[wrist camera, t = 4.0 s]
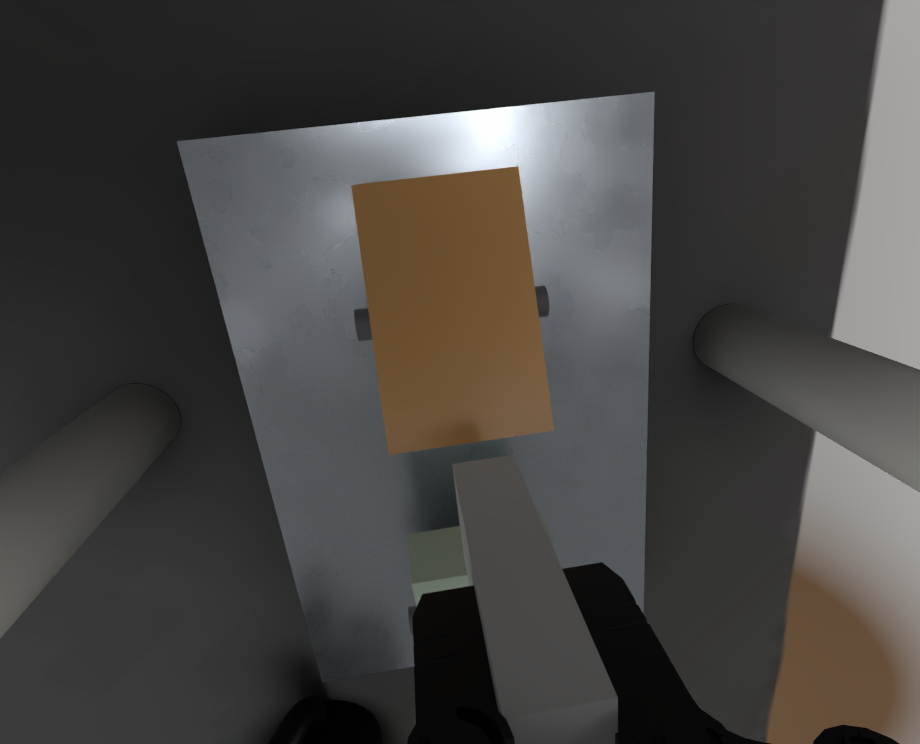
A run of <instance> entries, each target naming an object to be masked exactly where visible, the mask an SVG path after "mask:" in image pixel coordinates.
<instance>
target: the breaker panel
mask: <svg viewBox="0 0 920 744" xmlns="http://www.w3.org/2000/svg"><path fill="white" fill-rule="evenodd" d="M654 93H655V92H647V93H638V94H628V95H619V96H609V97H599V98H590V99H580V100H570V101H561V102H551V103H542V104H532V105H522V106H513V107H503V108H493V109H484V110H474V111H465V112H455V113H445V114H436V115H426V116H416V117H407V118H397V119H387V120H378V121H368V122H359V123H349V124H339V125H330V126H320V127H310V128H301V129H291V130H282V131H272V132H262V133H253V134H243V135H233V136H224V137H214V138H204V139H195V140H185V141H177V144H178V148H179V152H180V156H181V159H182V163H183V167H184V170H185V174H186V178H187V182H188V185H189V189H190V193H191V197H192V200H193V204H194V208H195V211H196V215H197V219H198V223H199V226H200V230H201V234H202V238H203V241H204V245H205V249H206V252H207V256H208V260H209V264H210V267H211V271H212V275H213V278H214V282H215V286H216V290H217V293H218V297H219V301H220V305H221V308H222V312H223V316H224V319H225V323H226V327H227V331H228V334H229V338H230V342H231V346H232V349H233V353H234V357H235V360H236V364H237V368H238V372H239V375H240V379H241V383H242V386H243V390H244V394H245V398H246V401H247V405H248V409H249V413H250V416H251V420H252V424H253V427H254V431H255V435H256V439H257V442H258V446H259V450H260V454H261V457H262V461H263V465H264V468H265V472H266V476H267V480H268V483H269V487H270V491H271V494H272V498H273V502H274V506H275V509H276V513H277V517H278V521H279V524H280V528H281V532H282V535H283V539H284V543H285V547H286V550H287V554H288V558H289V562H290V565H291V569H292V573H293V576H294V580H295V584H296V588H297V591H298V595H299V599H300V602H301V606H302V610H303V614H304V617H305V621H306V625H307V629H308V632H309V636H310V640H311V643H312V647H313V651H314V655H315V658H316V662H317V666H318V670H319V673H320V677H321V681H322V682H328V681H334V680H339V679H345V678H351V677H356V676H362V675H368V674H374V673H379V672H385V671H391V670H396V669H402V668H408V667H413V666H414V648H413V646H414V643H413V635H411V633H410V627H409V617H408V607H412V606H416V602H415V598H414V593H413V588H412V584H411V569H410V555H409V540H408V534H412V533H419V532H425V531H431V530H438V529H444V528H450V527H457V526H460V523H459V515H458V507H457V499H456V491H455V483H454V475H453V467H452V464H455V463H461V462H468V461H475V460H481V459H488V458H495V457H501V456H508V455H513V457H514V459H515V461H516V464H517V466H518V468H519V471H520V473H521V475H522V477H523V480H524V482H525V484H526V487H527V489H528V491H529V494H530V496H531V498H532V501H533V503H534V505H535V508H536V510H537V512H538V514H539V513H543V514H544V517H545V520H546V523H547V526H548V529H549V532H550V535H551V538H552V541H553V544H554V547H555V550H556V553H557V556H558V559H559V563H560V565H561V568H562V569H564V568H570V567H576V566H582V565H588V564H594V563H600V562H603V563H604V564H605V565H606V566H608V567H609V568H610V569H611V570H613V571H614V572H615V573H616V574H618V575H619V576H620V577H621V578H623V580H624V581H625V583H626V585H627V587H628V588H629V590H630V592H631V593H632V595H633V597H634V599H635V600H636V604H637V605H638V606H639V607H640V609H641V611H642V613H643V610H644V563H645V516H646V469H647V422H648V375H649V328H650V281H651V234H652V187H653V140H654ZM516 166H518V167H519V175H520V182H521V189H522V197H523V204H524V211H525V219H526V226H527V233H528V241H529V248H530V255H531V263H532V270H533V277H534V285H535V286H542V285H544V286H545V287H546V289H547V292H548V297H549V314H548V316H547V317H540V318H539V321H540V329H541V336H542V343H543V351H544V358H545V365H546V373H547V380H548V387H549V395H550V402H551V409H552V417H553V424H554V431H548V432H541V433H534V434H527V435H521V436H514V437H507V438H500V439H494V440H487V441H480V442H473V443H466V444H460V445H453V446H446V447H439V448H433V449H426V450H419V451H412V452H405V453H399V454H392V455H388V448H387V440H386V433H385V426H384V419H383V412H382V404H381V397H380V390H379V383H378V376H377V368H376V361H375V354H374V347H373V340H366V341H359V340H358V337H357V333H356V328H355V320H354V310H355V309H362V308H368V303H367V296H366V289H365V282H364V275H363V267H362V260H361V253H360V246H359V239H358V231H357V224H356V217H355V210H354V202H353V195H352V188H351V185H355V184H364V183H373V182H382V181H391V180H400V179H409V178H417V177H426V176H435V175H444V174H453V173H462V172H471V171H480V170H489V169H498V168H507V167H516Z"/></svg>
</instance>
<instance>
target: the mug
mask: <svg viewBox="0 0 920 744" xmlns="http://www.w3.org/2000/svg"><path fill="white" fill-rule="evenodd" d="M269 744H383V742H382V737H381V731H380V728H379V725H378V722H377V721H376V719H375V718H374V717H373V715H372V714H371V713H369V712H368V711H367V710H365V709H364V708H362V707H360V706H358V705H356V704H352V703H348V702H343V701H323V700H322V699H320V698H319V697H315V696H310V697H307V698H304V699H302V700H300V701H299V702H298V703H297V704H296V705H294V706H293V707H292V708H291V710H290V711H289V712H288V714H287V715H286V717H285V718H284V720H283V721H282V723H281V724H280V726H279V727H278V729H277V731H276V732H275V734H274V736H273V737H272V739H271V740H270V742H269Z"/></svg>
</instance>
